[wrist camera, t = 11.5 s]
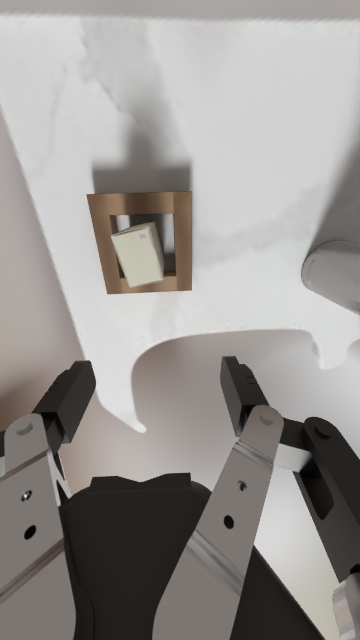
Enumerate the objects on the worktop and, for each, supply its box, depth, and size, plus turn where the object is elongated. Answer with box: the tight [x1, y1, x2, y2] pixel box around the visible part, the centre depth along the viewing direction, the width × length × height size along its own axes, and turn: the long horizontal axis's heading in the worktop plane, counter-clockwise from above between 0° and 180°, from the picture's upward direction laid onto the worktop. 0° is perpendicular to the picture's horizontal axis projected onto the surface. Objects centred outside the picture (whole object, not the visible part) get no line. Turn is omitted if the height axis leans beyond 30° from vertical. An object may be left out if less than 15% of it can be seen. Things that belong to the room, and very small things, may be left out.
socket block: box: [86, 191, 192, 294], centre depth 31 cm, size 14×14×4 cm
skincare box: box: [111, 221, 164, 288], centre depth 28 cm, size 6×4×12 cm
